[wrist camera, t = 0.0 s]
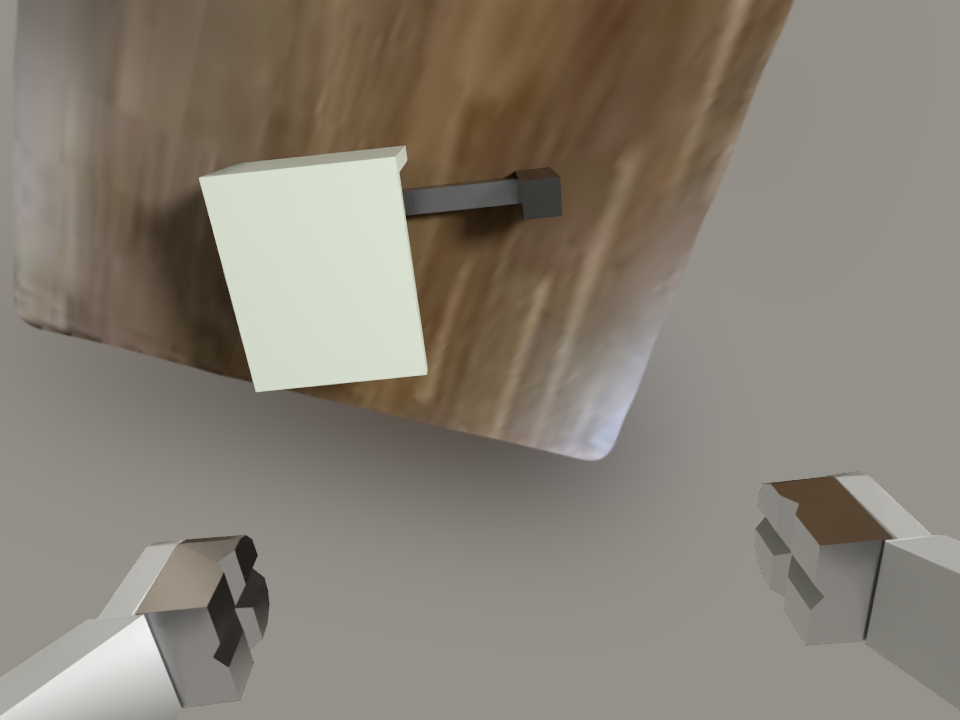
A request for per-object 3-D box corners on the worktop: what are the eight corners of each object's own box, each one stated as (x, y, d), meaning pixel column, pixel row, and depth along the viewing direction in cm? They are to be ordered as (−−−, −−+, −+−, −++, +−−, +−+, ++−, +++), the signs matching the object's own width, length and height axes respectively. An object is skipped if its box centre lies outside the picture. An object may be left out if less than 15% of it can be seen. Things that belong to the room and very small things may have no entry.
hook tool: (337, 189, 55) (324, 201, 49) (549, 167, 54) (560, 176, 49) (352, 274, 58) (341, 294, 52) (554, 253, 57) (564, 271, 52)
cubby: (239, 163, 53) (198, 177, 45) (405, 145, 53) (395, 156, 45) (284, 349, 60) (255, 392, 52) (431, 334, 60) (426, 374, 52)
